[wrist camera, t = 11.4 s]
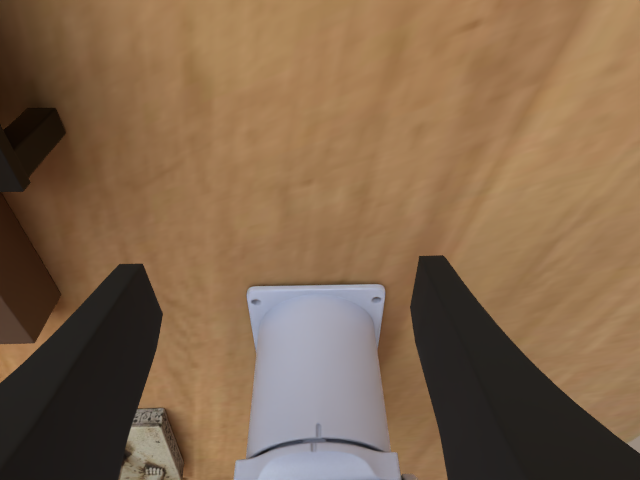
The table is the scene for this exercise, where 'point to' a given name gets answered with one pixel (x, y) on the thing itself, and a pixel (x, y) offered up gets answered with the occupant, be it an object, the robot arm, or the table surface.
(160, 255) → the table surface
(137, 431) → the statue
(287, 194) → the table surface
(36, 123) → the pot
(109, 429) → the robot arm
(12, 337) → the spatula
